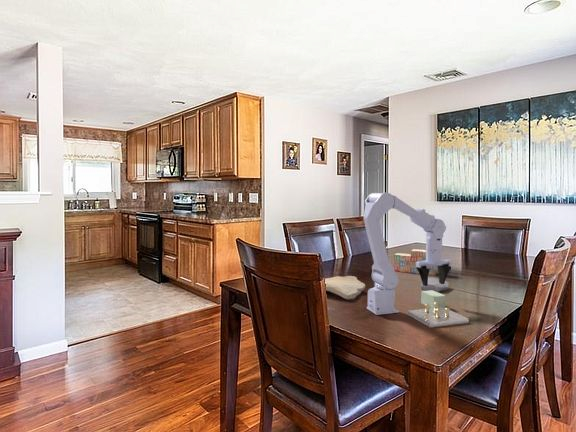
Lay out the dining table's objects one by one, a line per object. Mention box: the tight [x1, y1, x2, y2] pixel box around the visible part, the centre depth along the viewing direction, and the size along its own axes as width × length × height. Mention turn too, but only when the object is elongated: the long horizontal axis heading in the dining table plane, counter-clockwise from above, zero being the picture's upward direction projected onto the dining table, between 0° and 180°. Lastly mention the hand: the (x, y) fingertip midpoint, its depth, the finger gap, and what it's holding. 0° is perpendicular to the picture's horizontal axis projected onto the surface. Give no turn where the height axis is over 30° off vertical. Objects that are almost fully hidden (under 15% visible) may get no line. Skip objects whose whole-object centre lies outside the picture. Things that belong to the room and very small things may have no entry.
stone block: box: [420, 277, 450, 293], centre depth 169 cm, size 12×5×10 cm
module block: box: [420, 290, 446, 308], centre depth 145 cm, size 5×8×5 cm, turn 15°
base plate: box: [406, 303, 470, 328], centre depth 130 cm, size 15×13×4 cm
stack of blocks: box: [393, 248, 437, 276], centre depth 203 cm, size 21×6×12 cm, turn 58°
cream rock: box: [324, 275, 366, 301], centre depth 165 cm, size 24×8×20 cm
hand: (433, 284), depth 144 cm, fingers open, 7 cm apart
